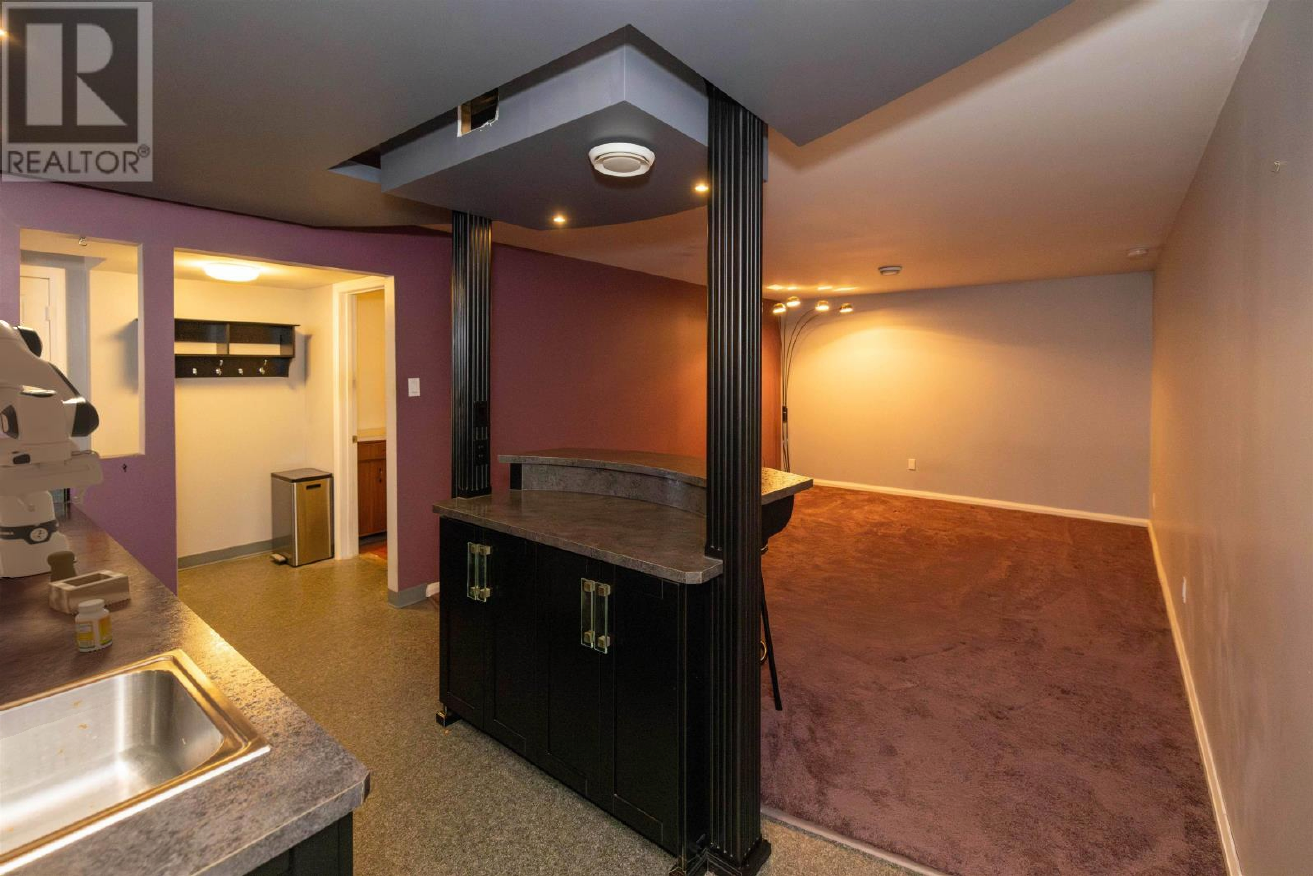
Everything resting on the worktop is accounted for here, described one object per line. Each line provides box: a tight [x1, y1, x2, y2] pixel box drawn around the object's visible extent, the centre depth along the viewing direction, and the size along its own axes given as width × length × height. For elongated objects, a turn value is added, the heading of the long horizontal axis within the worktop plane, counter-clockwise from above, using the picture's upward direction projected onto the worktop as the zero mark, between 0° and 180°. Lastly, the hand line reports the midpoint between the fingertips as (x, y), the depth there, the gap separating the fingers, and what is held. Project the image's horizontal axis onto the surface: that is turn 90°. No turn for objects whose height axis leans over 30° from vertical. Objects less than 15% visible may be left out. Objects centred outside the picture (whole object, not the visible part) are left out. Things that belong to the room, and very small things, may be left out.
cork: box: [47, 550, 78, 583], centre depth 161 cm, size 6×6×11 cm
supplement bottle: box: [74, 599, 113, 653], centre depth 129 cm, size 5×5×10 cm
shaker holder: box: [47, 569, 131, 616], centre depth 154 cm, size 11×11×6 cm
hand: (54, 507), depth 159 cm, fingers open, 8 cm apart
